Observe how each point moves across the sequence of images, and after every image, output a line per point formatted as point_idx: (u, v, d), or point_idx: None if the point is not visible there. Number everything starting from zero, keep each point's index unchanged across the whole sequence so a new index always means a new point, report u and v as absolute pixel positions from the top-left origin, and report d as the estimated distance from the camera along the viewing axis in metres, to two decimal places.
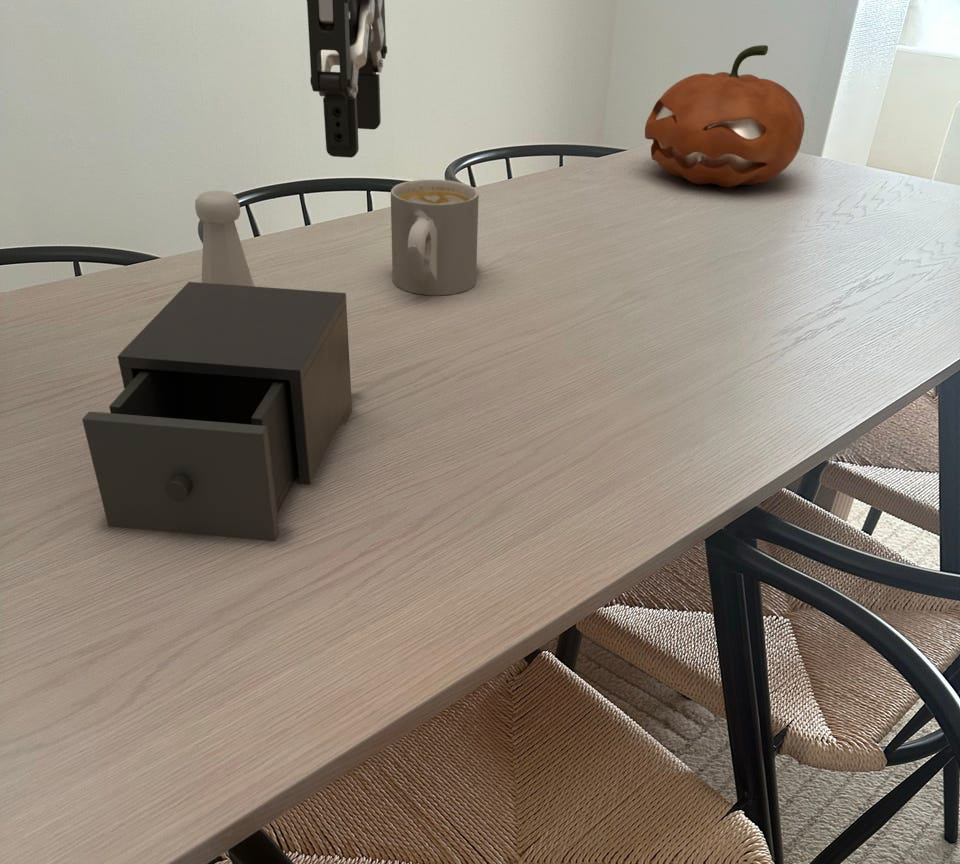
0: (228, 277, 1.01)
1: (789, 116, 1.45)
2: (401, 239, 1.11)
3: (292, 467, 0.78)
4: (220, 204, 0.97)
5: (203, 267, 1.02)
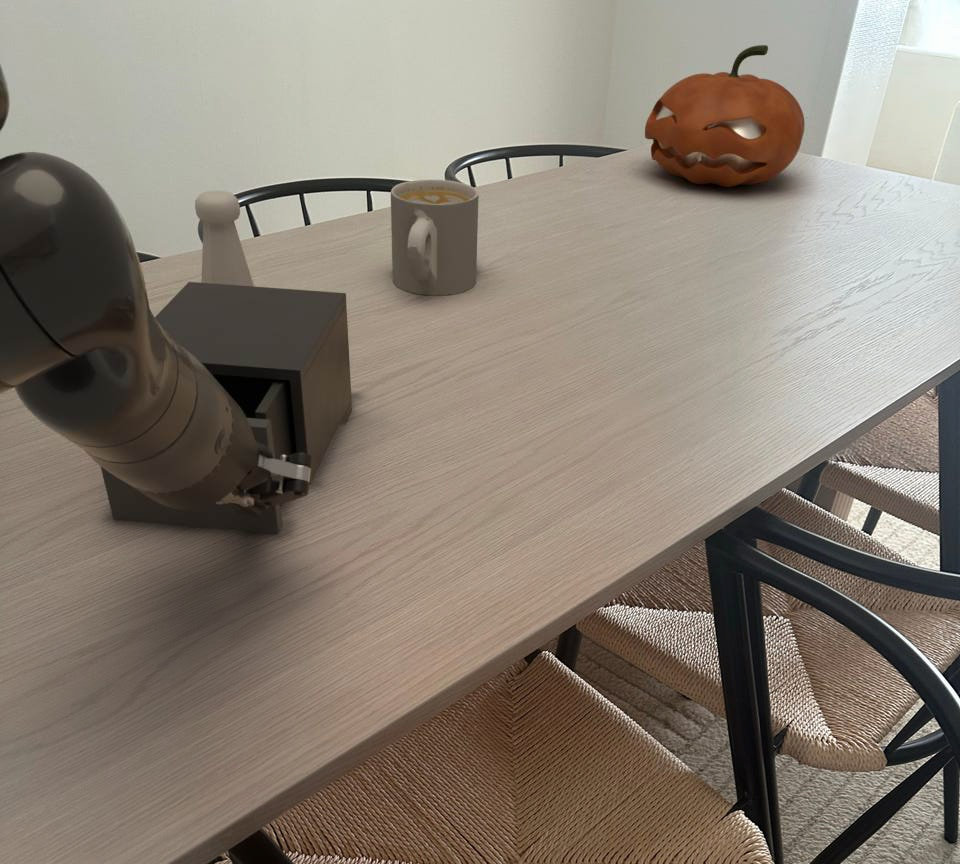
0: (228, 277, 1.01)
1: (789, 116, 1.45)
2: (401, 239, 1.11)
3: None
4: (220, 204, 0.97)
5: (203, 267, 1.02)
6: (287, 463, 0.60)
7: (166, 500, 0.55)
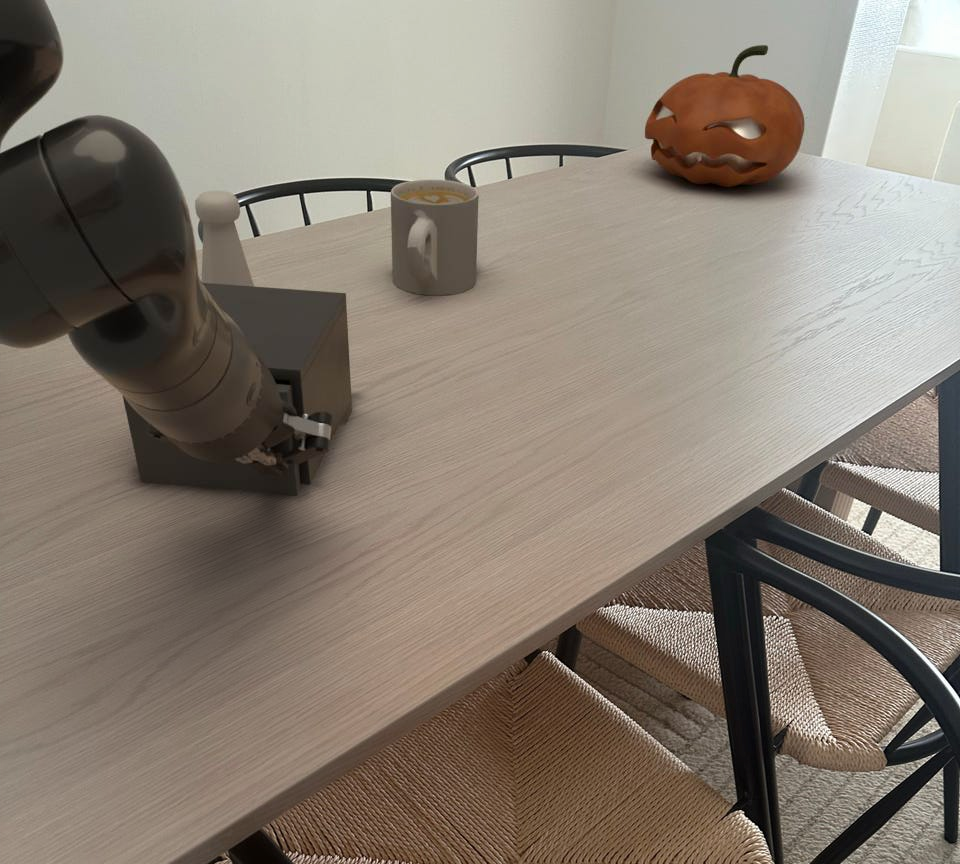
0: (228, 277, 1.01)
1: (789, 116, 1.45)
2: (401, 239, 1.11)
3: None
4: (220, 204, 0.97)
5: (203, 267, 1.02)
6: (309, 421, 0.65)
7: (199, 451, 0.59)
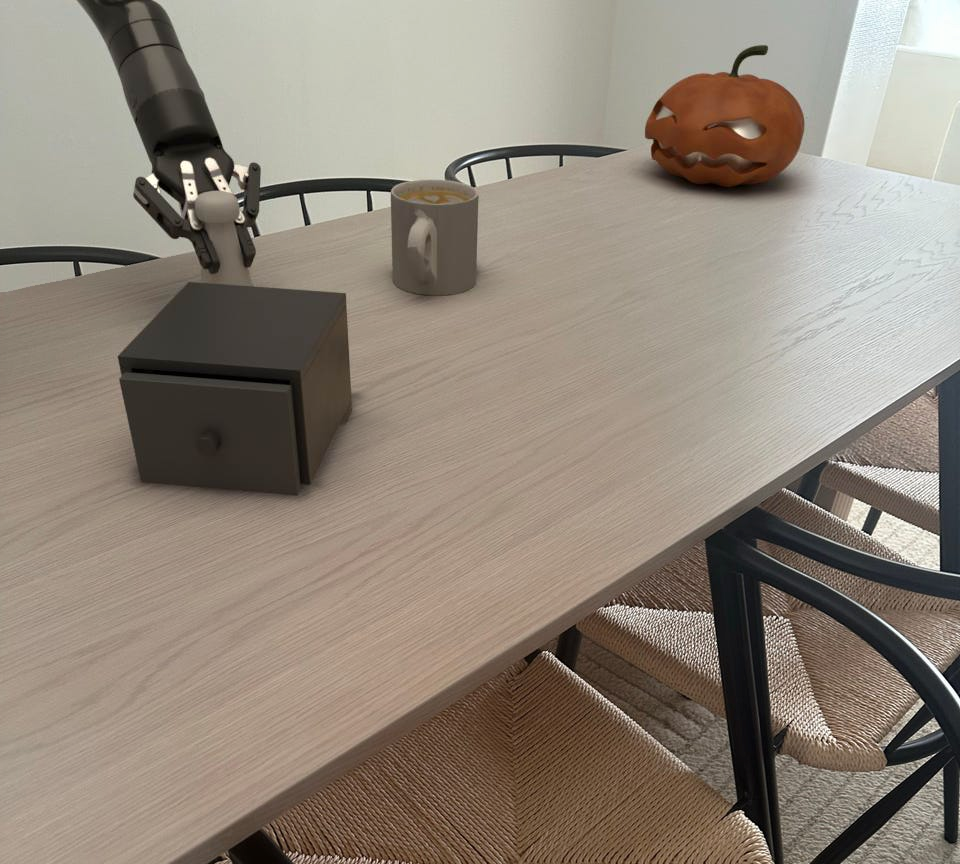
0: (228, 277, 1.01)
1: (789, 116, 1.45)
2: (401, 239, 1.11)
3: None
4: (220, 204, 0.97)
5: (202, 267, 1.02)
6: None
7: (182, 105, 0.97)
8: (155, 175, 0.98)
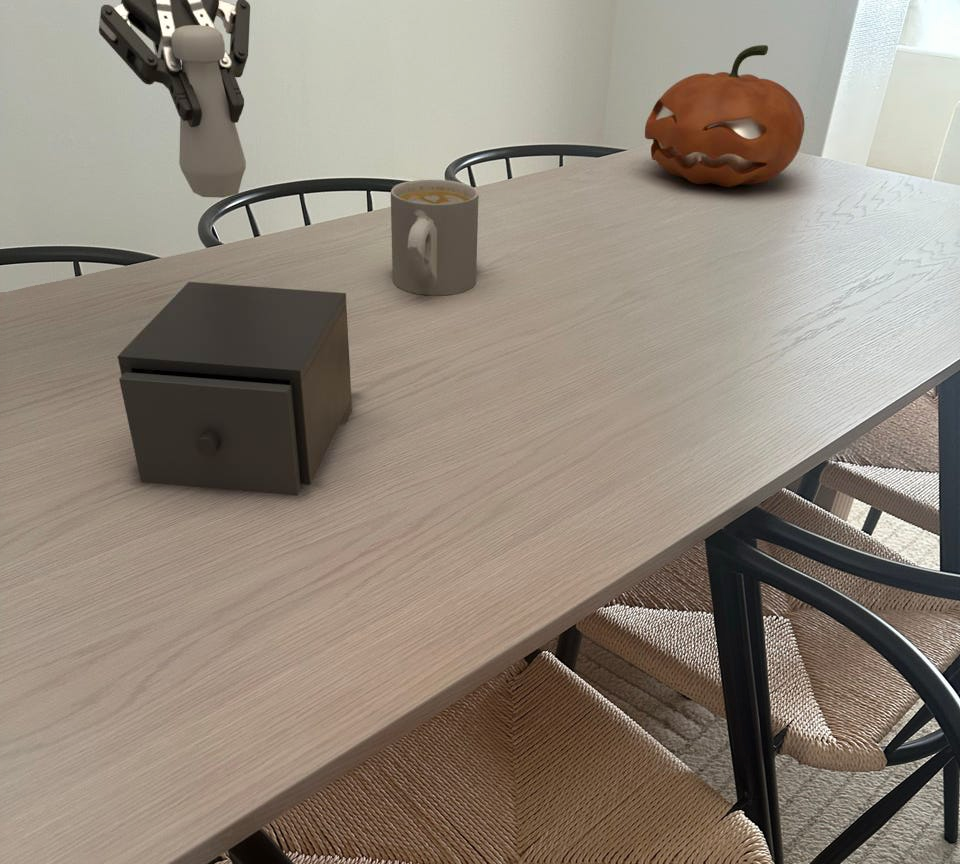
0: (211, 131, 0.86)
1: (789, 116, 1.45)
2: (401, 239, 1.11)
3: None
4: (201, 37, 0.81)
5: (181, 121, 0.86)
6: None
7: None
8: (125, 6, 0.83)
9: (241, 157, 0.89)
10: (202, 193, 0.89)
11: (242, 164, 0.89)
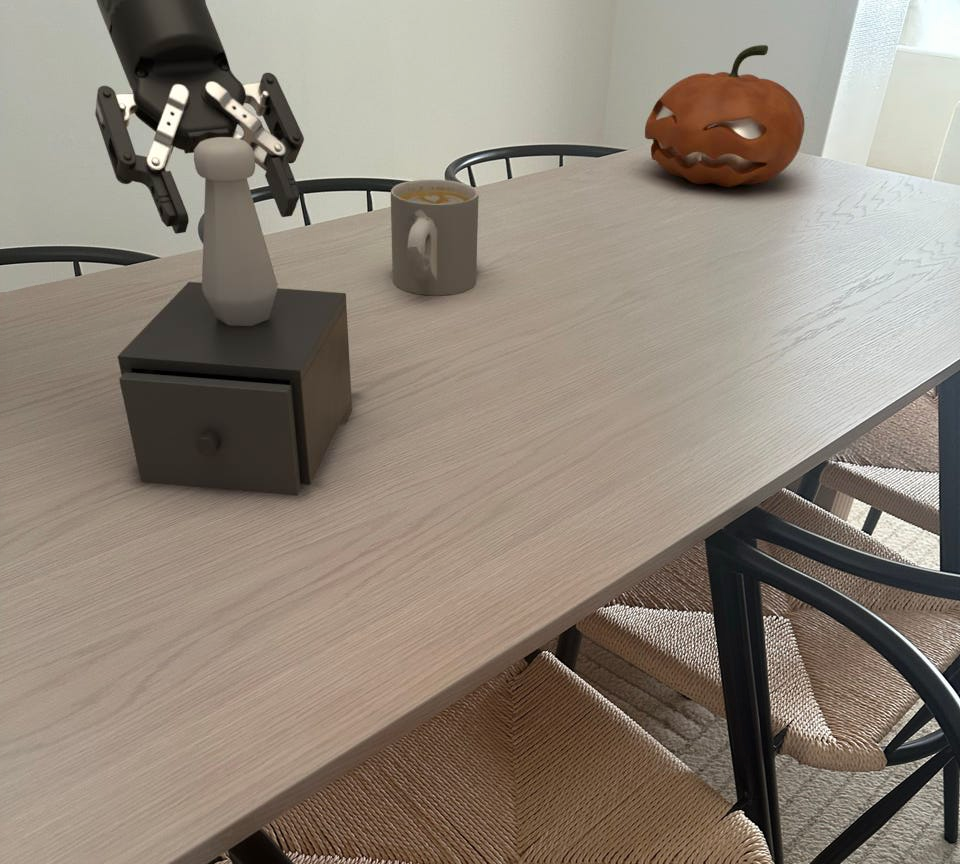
0: (239, 255, 0.74)
1: (789, 116, 1.45)
2: (401, 239, 1.11)
3: None
4: (228, 154, 0.70)
5: (205, 243, 0.75)
6: None
7: (174, 6, 0.70)
8: (133, 97, 0.71)
9: (272, 281, 0.77)
10: (228, 321, 0.78)
11: (274, 288, 0.77)
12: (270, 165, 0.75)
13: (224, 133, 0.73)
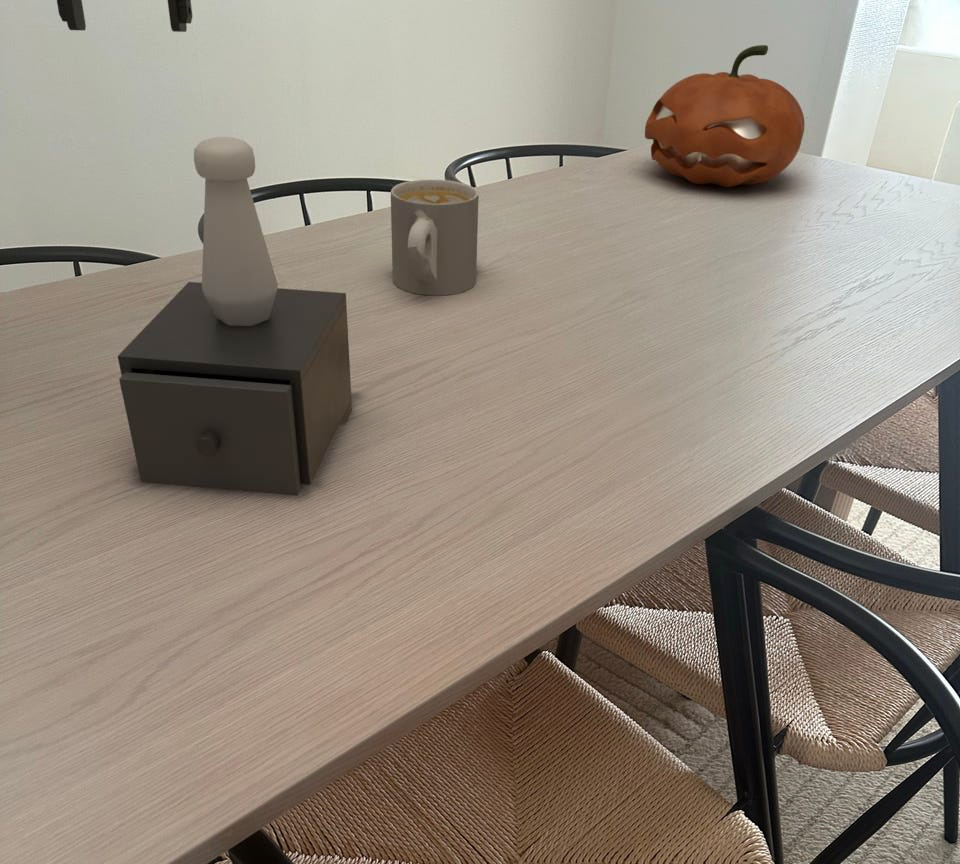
0: (239, 255, 0.74)
1: (789, 116, 1.45)
2: (401, 239, 1.11)
3: None
4: (228, 154, 0.70)
5: (205, 243, 0.75)
6: None
7: None
8: None
9: (272, 281, 0.77)
10: (228, 321, 0.78)
11: (274, 288, 0.77)
12: None
13: None
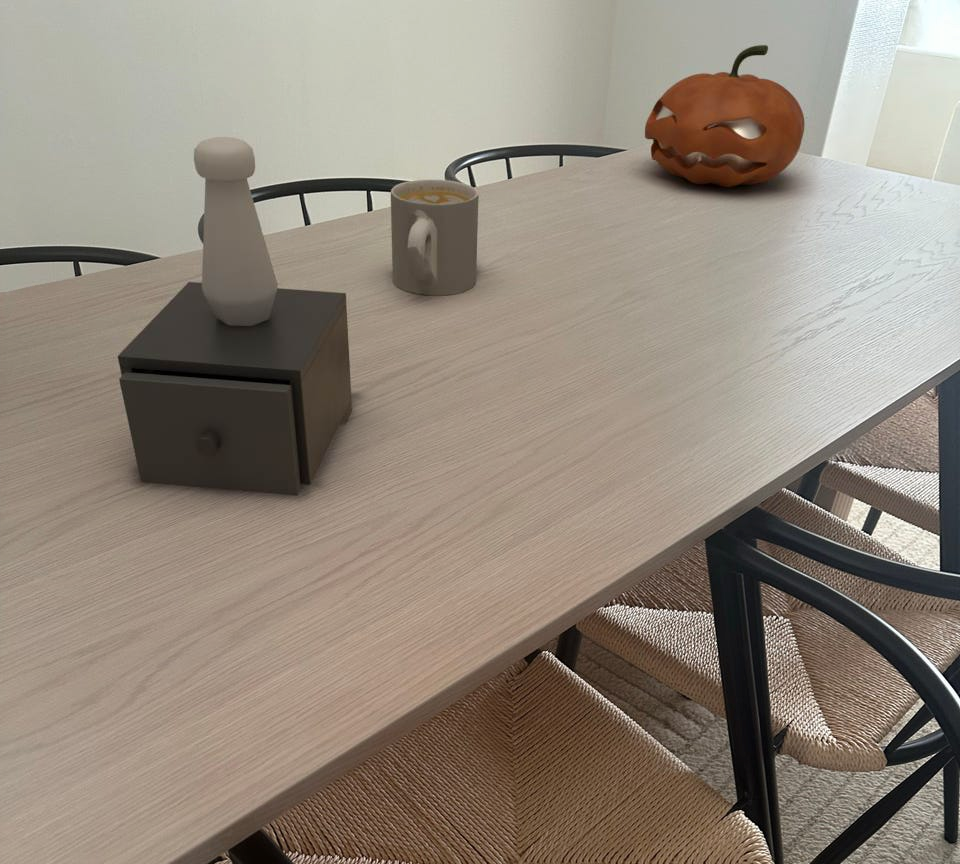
0: (239, 255, 0.74)
1: (789, 116, 1.45)
2: (401, 239, 1.11)
3: None
4: (228, 154, 0.70)
5: (205, 243, 0.75)
6: None
7: None
8: None
9: (272, 281, 0.77)
10: (228, 321, 0.78)
11: (274, 288, 0.77)
12: None
13: None
